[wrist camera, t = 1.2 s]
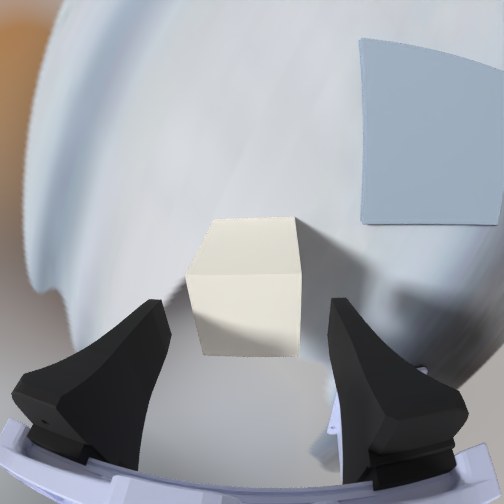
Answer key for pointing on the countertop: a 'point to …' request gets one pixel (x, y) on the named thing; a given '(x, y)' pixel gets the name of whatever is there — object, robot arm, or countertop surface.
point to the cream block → (247, 288)
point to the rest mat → (430, 136)
